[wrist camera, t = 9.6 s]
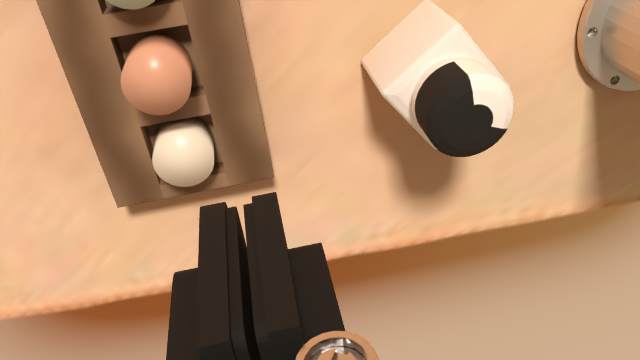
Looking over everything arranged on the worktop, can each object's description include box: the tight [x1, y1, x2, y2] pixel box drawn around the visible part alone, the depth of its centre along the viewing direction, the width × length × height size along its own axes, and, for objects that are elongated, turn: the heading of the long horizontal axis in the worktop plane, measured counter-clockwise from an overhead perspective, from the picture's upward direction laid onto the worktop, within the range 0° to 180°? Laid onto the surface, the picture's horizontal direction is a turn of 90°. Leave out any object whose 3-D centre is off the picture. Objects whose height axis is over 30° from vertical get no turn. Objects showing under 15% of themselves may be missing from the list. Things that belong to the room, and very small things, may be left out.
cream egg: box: [152, 117, 214, 187], centre depth 45 cm, size 5×5×4 cm
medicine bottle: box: [361, 0, 514, 157], centre depth 42 cm, size 7×7×12 cm
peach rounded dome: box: [121, 35, 193, 115], centre depth 40 cm, size 5×5×4 cm
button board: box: [36, 0, 274, 208], centre depth 42 cm, size 13×22×3 cm, turn 7°
